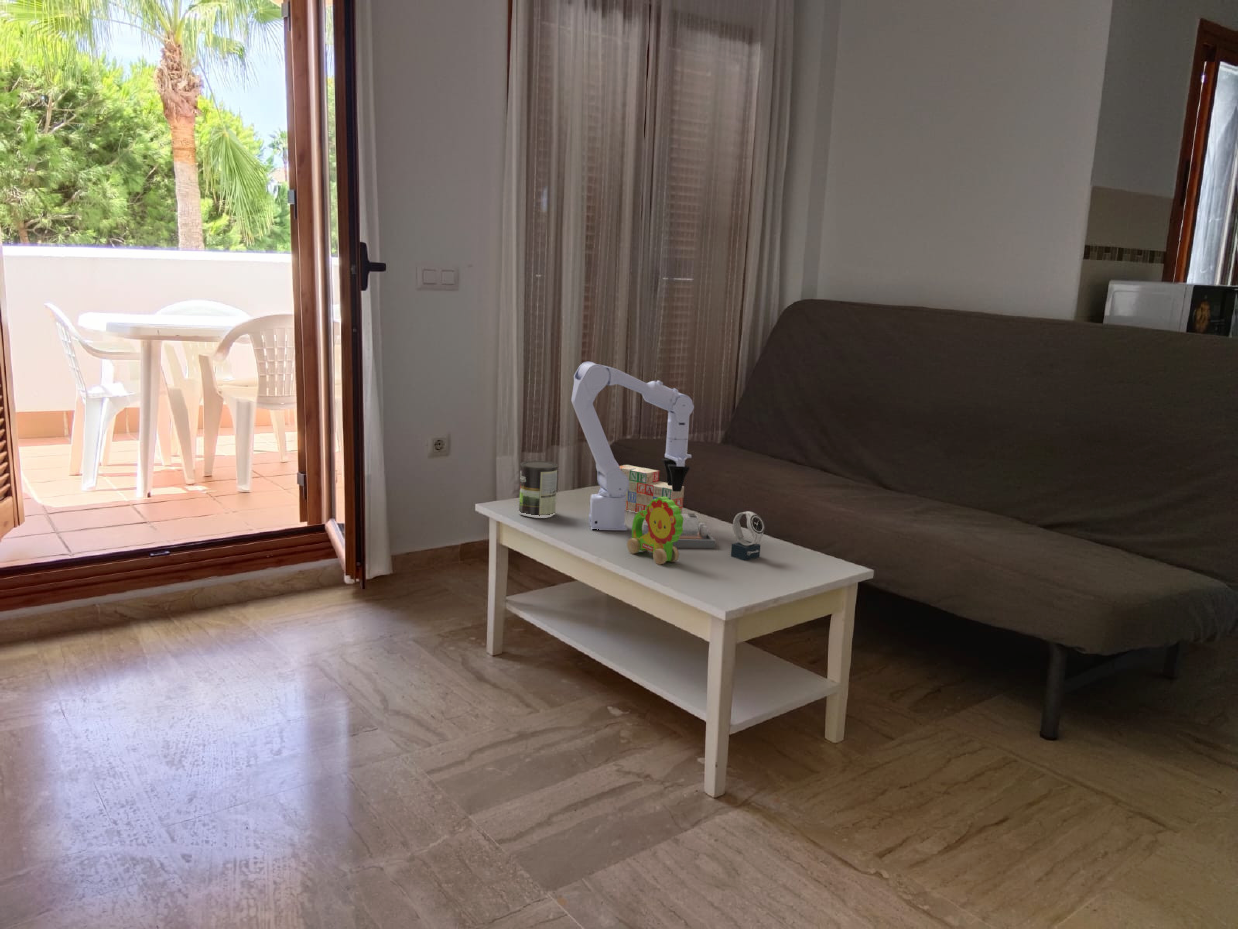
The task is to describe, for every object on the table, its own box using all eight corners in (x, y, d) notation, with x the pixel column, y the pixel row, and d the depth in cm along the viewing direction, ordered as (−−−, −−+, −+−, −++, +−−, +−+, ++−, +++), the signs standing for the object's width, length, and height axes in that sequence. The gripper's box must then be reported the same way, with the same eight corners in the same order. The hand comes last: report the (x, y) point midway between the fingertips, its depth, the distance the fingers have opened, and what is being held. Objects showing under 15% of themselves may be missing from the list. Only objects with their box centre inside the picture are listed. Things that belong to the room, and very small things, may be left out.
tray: (651, 547, 225) (652, 530, 225) (643, 532, 239) (644, 517, 238) (714, 548, 227) (716, 531, 227) (703, 533, 241) (704, 518, 240)
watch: (750, 562, 217) (754, 517, 215) (725, 554, 222) (728, 510, 221) (766, 559, 220) (769, 514, 218) (740, 551, 226) (744, 507, 224)
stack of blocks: (682, 518, 257) (685, 475, 255) (668, 522, 253) (671, 478, 251) (624, 504, 271) (627, 463, 269) (610, 507, 266) (613, 466, 264)
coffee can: (519, 518, 247) (521, 467, 245) (517, 509, 257) (518, 460, 255) (557, 518, 249) (560, 467, 247) (553, 510, 259) (555, 461, 257)
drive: (662, 536, 231) (663, 516, 230) (659, 532, 234) (661, 512, 234) (697, 537, 232) (698, 517, 231) (694, 532, 236) (695, 513, 235)
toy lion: (625, 552, 220) (628, 490, 217) (642, 549, 224) (645, 488, 221) (668, 569, 208) (672, 503, 205) (686, 565, 211) (690, 501, 209)
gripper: (697, 443, 237) (694, 494, 240) (686, 434, 251) (683, 483, 254) (670, 442, 236) (667, 493, 239) (661, 433, 250) (658, 482, 253)
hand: (674, 488), depth 246 cm, fingers open, 7 cm apart
